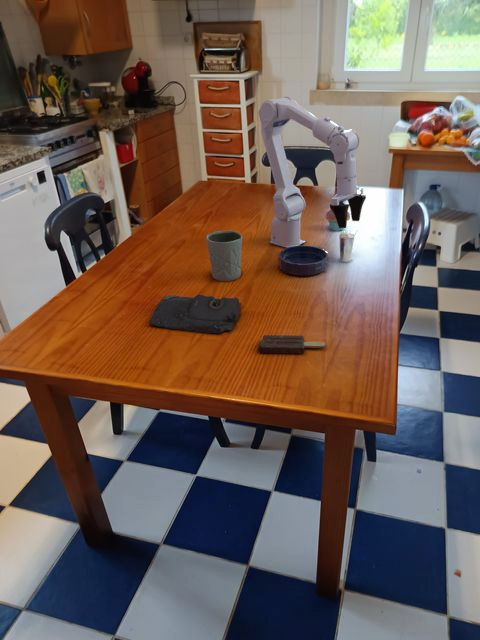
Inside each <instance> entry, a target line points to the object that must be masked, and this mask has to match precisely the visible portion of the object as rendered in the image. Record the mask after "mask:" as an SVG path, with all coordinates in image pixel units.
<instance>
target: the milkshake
mask: <svg viewBox="0 0 480 640" xmlns="http://www.w3.org/2000/svg"><path fill="white" fill-rule="evenodd" d="M357 232H358V229H357V230H356V232H355V233H354V232H352V231H349V230H344V231H341V232H340V233H339V261H340V262H342V263H350V262H351V261H352V260H351V259H352V254H353V246H354V242H355V236H356V234H357Z"/></svg>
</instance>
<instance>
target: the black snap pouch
mask: <svg viewBox="0 0 480 640" xmlns="http://www.w3.org/2000/svg"><path fill="white" fill-rule="evenodd" d="M241 305H242V303H241V302H240V299H239V298H238V297H226V296H222V297H221V298H216V297H215V296H214V295H209V296H208V295H204V294H197V295H195V296H194V297H193V296H179V295H174V294H173V295H169V294H168V295H165V296H164V297H163V298H162V299H161V300H160V301H159V303H158V304H157V305H156V306H155V308H154V310H153V312H152V315H150V318H149V319H150V320H149V321H150V322H149V325H151V326H154V327H158V328H161V329H169V330H175V331H183V332H192V333H193V332H194V333H195V332H196V333H204V334H205V333H206V334H218V335H220V334H222V333H224V332H231V331H232V330H233V329H235V324H236V323H237V321H238V320H239V317H240V314H241V309H242V308H241Z"/></svg>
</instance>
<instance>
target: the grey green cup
mask: <svg viewBox="0 0 480 640" xmlns="http://www.w3.org/2000/svg"><path fill="white" fill-rule="evenodd" d="M205 238H206V244H207V250H208V253H209V262H210V266H211V267H210V268H211V269H210V270H211V275H212V278H213V279H214V280H217V281H218V282H219V281H220V282H230V281H235V280H237V279H239V278H240V277H241V275H242V250H243V249H242V248H243V247H242V246H243V235H242V233H240V232H238V231H235V230H218V231H213V232H210V233H209V234H207V235H206V237H205Z"/></svg>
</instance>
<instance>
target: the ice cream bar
mask: <svg viewBox="0 0 480 640" xmlns="http://www.w3.org/2000/svg"><path fill="white" fill-rule="evenodd" d="M325 346H326V342H324V341H305V338H304V335H287V334H284V335H283V334H280V335H279V334H264V335H262V340H259V341H258V351H259V353H262V354H296V355H297V354H298V355H299V354H300V355H301V354H302V355H303V354H304V351H305V348H319V349H321V348H325Z"/></svg>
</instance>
